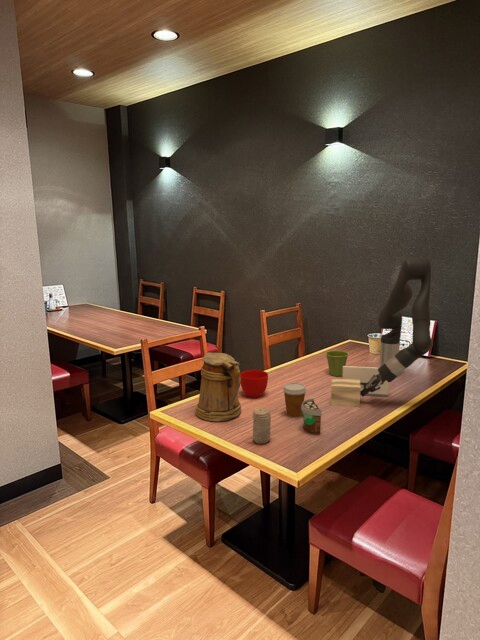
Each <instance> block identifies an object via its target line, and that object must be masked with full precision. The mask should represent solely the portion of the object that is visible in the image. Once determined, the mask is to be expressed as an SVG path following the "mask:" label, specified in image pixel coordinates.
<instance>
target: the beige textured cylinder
mask: <svg viewBox="0 0 480 640" xmlns="http://www.w3.org/2000/svg"><path fill="white" fill-rule="evenodd" d="M271 416H272V414H271V411H270V409H269V408H267V407H257V408H255V409H254V410H253V411H252V420H253V421H252V437H253V441H254V443H256V444H266V443H268V442H269V441H270V440H271V436H272V435H271V422H272V417H271Z"/></svg>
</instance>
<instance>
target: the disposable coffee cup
mask: <svg viewBox="0 0 480 640" xmlns="http://www.w3.org/2000/svg"><path fill="white" fill-rule="evenodd" d="M282 391H283V394H284V402H285V403H284V404H285V409H286V410H285V411H286V415H287V416H288V417H292V418H296V417H301V416H303V411H302V410H301V406H302V403H303V402H304V401H305V398H306V397H305V395H306V392H307V387H306V385H304V384H303V383H301V382H300V383H299V382H289V383H285V384H284V385H283V388H282Z"/></svg>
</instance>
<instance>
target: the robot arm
mask: <svg viewBox="0 0 480 640" xmlns="http://www.w3.org/2000/svg"><path fill="white" fill-rule="evenodd" d="M416 280H417V281H418V280H419V281H420V283H421V284H420V289H419V292H418V294H417V296H416V298H415V299H414V302H413V304H412V306H411V321H412V322H411V323H412V342H411V344H409V345H408V346H407V347H404V348H402V349H401V350H400V346H401V345H400V343H401V338H402V337H401V335H402V327H403V315H402V314H403V313H402V312H401V311H403V310H404V309H405V308H407V306H408V305H409V303H410V302H411V300H412V298H413V294H414V293H413V289H412V287H411V285H410V284H409V283H408V282H409V281H416ZM431 280H432V265H431V261H430V259H429V258H428V257H409V258H405V259H404V260H403V261H402V264H401V266H400V269H399V272H398V275H397V279H396V281H395V284H394V286H393V287H392V290H391V291H390V293H389V295H388V299H387V301H386V303H385V305H384V306H383V308H382V309H381V311H380V312H379V315H378V319H377V324H378V327H379V328H380V329H383V330H390V331H389V332H388V333H385V334H382V335H381V336H380V346H379V347H380V348H379V349H380V351H379V366H378V367H377V368H378V372H379V374H377V375H373V377H372V378H371V379H370V380H369V382H368V383H367V385H366V387H365V388H364V389H363V390H361V391H360V397H362V398H364V397H366V396H365V395H366V394H367V393H369V392H371V393H372V392H374V391H376V390H379V389H380V388H381V387H380V386H381V385H383V384H384V382H385V381H387V382H388V383H391V382H393V381H394V380H395V379H396V378H398V377H399V376H400V375H401V374H403V373H404V372H405V371H406V370H407V368H409V367H410V366H411V365H413V364H414V362H416V361H417V360H418V359H420V358H421V357H423V356H424V355H426V354H428V352H429V351H431V349H433V346H434V341H433V339H432V338H431V330H430V328H431V313H430V298H431V297H430V295H431V282H432V281H431Z"/></svg>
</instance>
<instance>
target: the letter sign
mask: <svg viewBox="0 0 480 640" xmlns="http://www.w3.org/2000/svg"><path fill="white" fill-rule="evenodd" d="M378 368H379V367H371V366H355V365H354V366H351V365H346V366H343V376H342V379H357V380H360V387H361V388H360V391H361V390H363V389H364V388H365V387H366V385H367V383H368V382H369V380H370V379H371V378H372V377H373V375H377V374H379V372H378ZM380 387H381V388H380V389H379V390H376V391H374V392H372V393H371V392H369V393H367V394H366V395H365V396H364V397H379V398H380V397H381V398H388V396H389V382H387V381H385V382H384V384H383V385H381V386H380Z"/></svg>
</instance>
